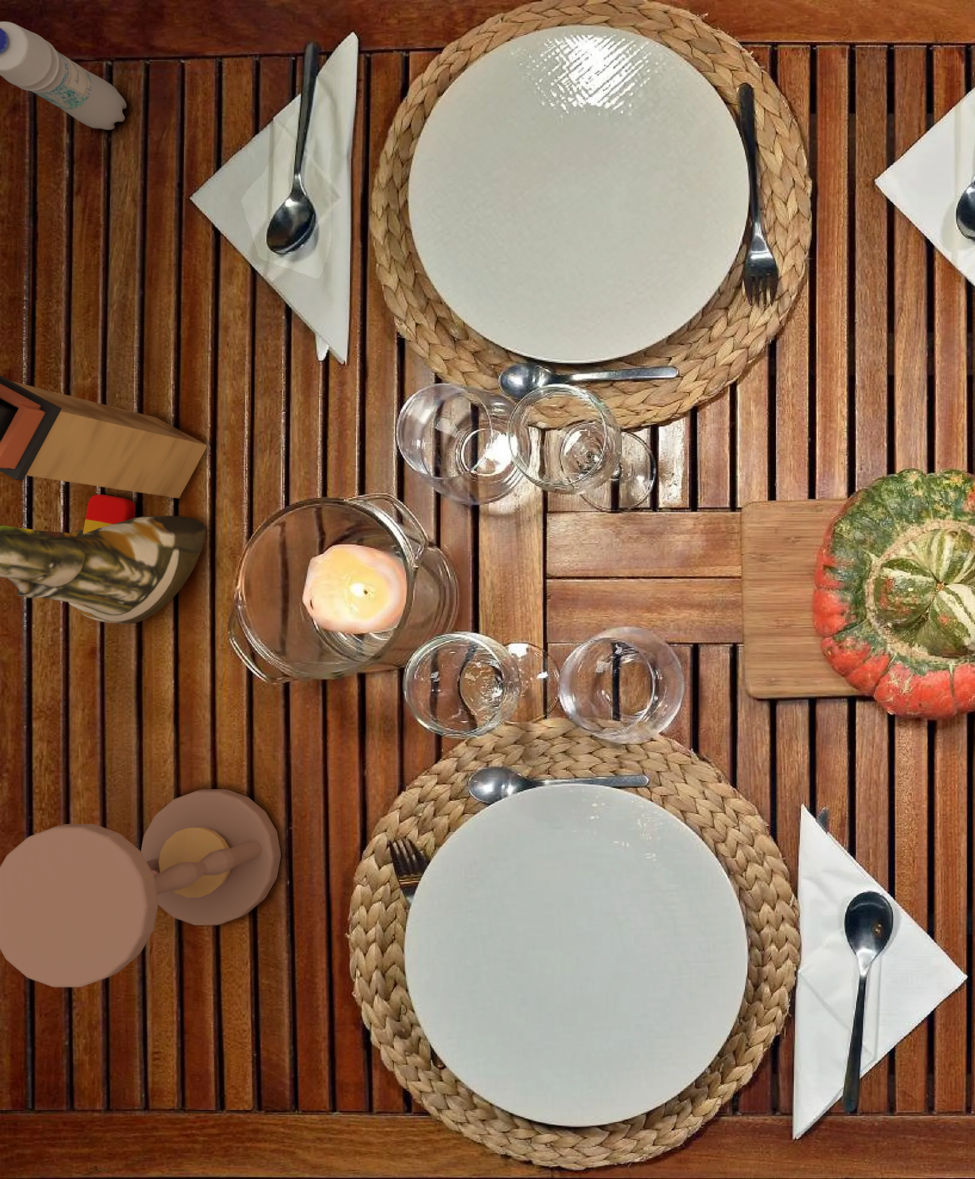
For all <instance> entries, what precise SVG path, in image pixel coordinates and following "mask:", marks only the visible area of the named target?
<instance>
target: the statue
mask: <svg viewBox="0 0 975 1179" xmlns="http://www.w3.org/2000/svg"><path fill="white" fill-rule="evenodd" d="M206 533H207V529H206V526H205V524H204V523H203V522H202V521H200V520H198V519H196V518H193V517H188V516H180V515H164V514H163V515H160V514H159V515H145V516H139V517H134V518H133V519H130V520H126V521H122V522H118V523H115V524H112V525H109V526H105V527H102V528H98V529H96V530H93V531H90V532H87V533H83V529H77V530H74V531H72V532H70V533H68V532H63V531H54V530H53V531H51V530H38V529H30V528H23V527H18V526H11V525H6V524H0V578H6V579H7V580H8V581H9V582H10V583H11V584H12V585H13V586H14V587H16V588H17V590H16V594H17V596H18V597H24V598H26V599H47V600H53V601H57V602H65V603H68V604H69V605H70V606H71V607H72V608H75V609H77V611H78V612H79V613H80V615H81V616H85V617H87V618H89V619H91V620H94V621H97V622H102V623H111V624H121V625H131V624H137V623H139V622H142V621H145V620H147V619H148V618H150V617H153V615H155V614H157V613H158V612H160V611H161V610H162V609H163V608H164V607H165V606H167V605H168V604H169V603H170V602H171V601H172V600H173V599H174V597H175V596H176V595H177V594H178V593H179V592H180V590H181V589H182V588H183V586H184V585H185V583H186V582H187V580H188V579H189V578H190V576H191V574H192V572H193V570H194V569H195V567H196V565H197V563H198V560H199V557H200V555H201V552H202V551H203V548H204V545H205V544H204V543H205V539H206Z"/></svg>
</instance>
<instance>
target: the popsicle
mask: <svg viewBox="0 0 975 1179" xmlns="http://www.w3.org/2000/svg"><path fill="white" fill-rule="evenodd" d="M136 508H137V507H136V504H135V502H134V501H133V500H131V499H129V498H125V497H121V496H116V495H115V496H113V495H108V494H100V493H98V494H94V495H92V496H91V497H90V498H89V499H88V503H87V508H86V513H85V519H84V524H83V529H82V530H83V533H87V532H90V531H93V530H96V529H98V528H102V527H105V526H109V525H112V524H115V523H118V522H122V521H126V520H130V519H133V518H136V517H135V516H136V510H137V509H136Z"/></svg>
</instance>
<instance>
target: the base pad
mask: <svg viewBox="0 0 975 1179" xmlns="http://www.w3.org/2000/svg"><path fill="white" fill-rule="evenodd" d="M12 381H13V380H10V379H8V378H7V377H5V376H2V375H1V374H0V400H2V401H4V402H6V403H8V404H9V405H11V406H13V407H15V408H17V409H18V411H17V413H16V414H15V416H14V418H13V420H12V422H11V424H10V426H9V427H8V429H7V431H6V433H5V435H4V437H3V438H2V440H1V442H0V472H1V473H2V474H4V475H5V476H8V477H9V478H12V479H13V480H16V481H22V482H23V481H24V480H25V478H26V474H27V473H28V471H29V469H30V467H31V465H32V463H33V461H34V460H35V458H36V456H37V454H38V452H39V450H40V449H41V447H42V445H43V443H44V441H45V439H46V437H47V436H48V434H49V432H50V430H51V428H52V426H53V424H54V423H55V421H56V419H57V417H58V415H59V413H60V411H61V410H62V408H60V407H58V406H56V405H54V404H53V403H51V402H49V401H47V400H45V399H43V398H42V397H40V396H38V395H36V394H34V393H32V392H30V391H29V390H27V389H25V388H23V387H21V386H19V385H17V384H16V383H14V382H15V381H13V382H12Z"/></svg>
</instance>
